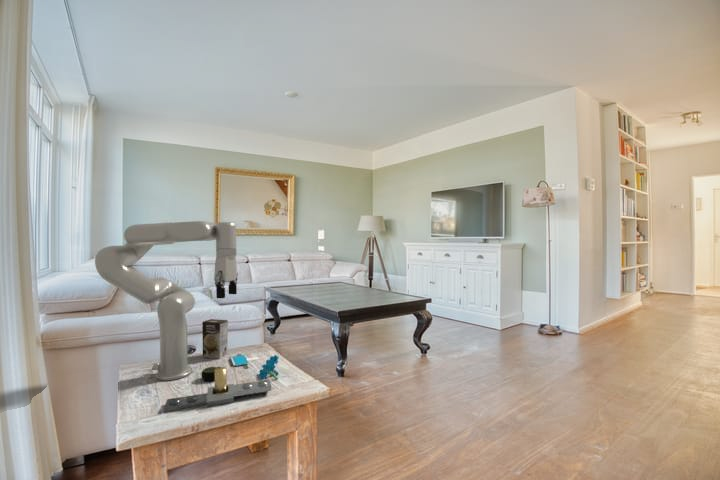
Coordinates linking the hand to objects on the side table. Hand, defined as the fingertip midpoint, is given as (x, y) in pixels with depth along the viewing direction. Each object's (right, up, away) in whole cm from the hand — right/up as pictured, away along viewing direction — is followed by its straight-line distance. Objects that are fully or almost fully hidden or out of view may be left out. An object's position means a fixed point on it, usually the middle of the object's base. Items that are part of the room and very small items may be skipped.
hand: (226, 296), depth 138 cm
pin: (+7, -30, -24) cm, 39 cm away
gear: (+18, -30, -5) cm, 36 cm away
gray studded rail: (+7, -30, -24) cm, 39 cm away
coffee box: (-13, -31, +19) cm, 38 cm away
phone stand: (+3, -31, +13) cm, 34 cm away
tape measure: (-3, -31, -6) cm, 31 cm away
